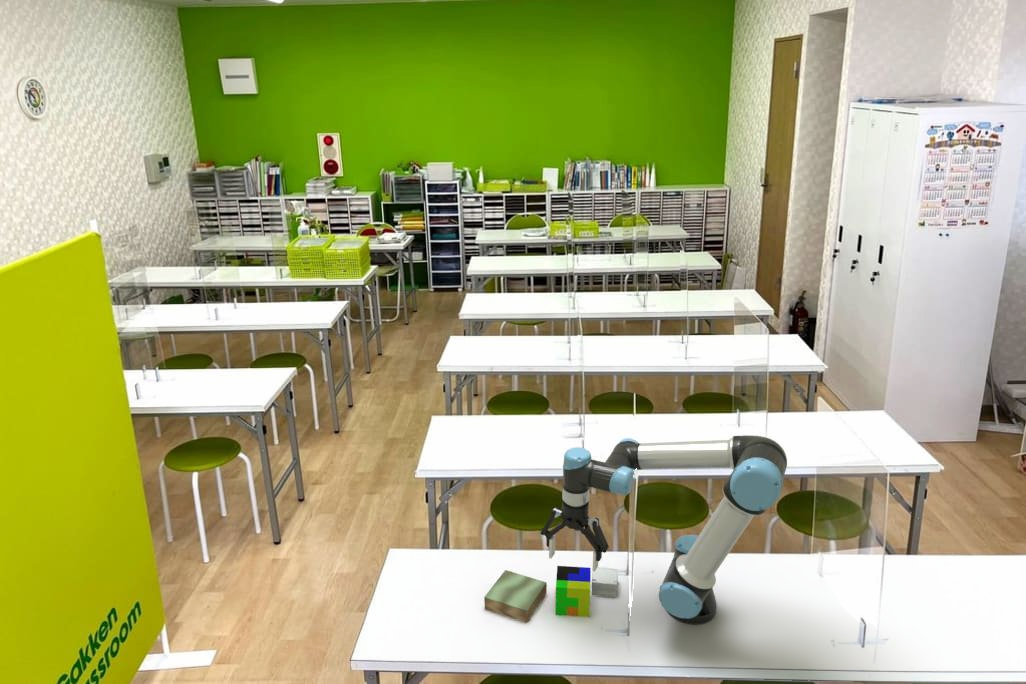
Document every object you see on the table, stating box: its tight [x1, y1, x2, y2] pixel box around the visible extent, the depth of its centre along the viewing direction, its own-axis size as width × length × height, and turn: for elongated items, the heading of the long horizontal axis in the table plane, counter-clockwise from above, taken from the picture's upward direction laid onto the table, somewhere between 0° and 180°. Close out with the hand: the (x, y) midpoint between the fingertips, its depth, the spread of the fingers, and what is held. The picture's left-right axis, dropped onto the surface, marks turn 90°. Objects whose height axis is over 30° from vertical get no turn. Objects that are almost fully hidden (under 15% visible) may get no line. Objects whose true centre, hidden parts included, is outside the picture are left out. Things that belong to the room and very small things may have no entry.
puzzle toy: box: [554, 565, 592, 618], centre depth 228 cm, size 10×10×10 cm
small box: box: [591, 566, 619, 598], centre depth 236 cm, size 8×8×5 cm
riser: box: [483, 569, 548, 624], centre depth 230 cm, size 14×14×4 cm
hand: (573, 562), depth 224 cm, fingers open, 13 cm apart
